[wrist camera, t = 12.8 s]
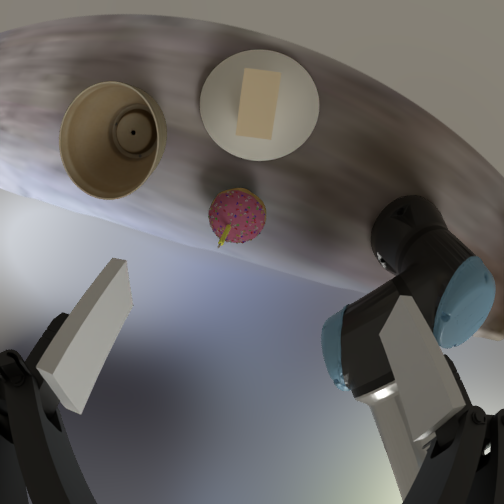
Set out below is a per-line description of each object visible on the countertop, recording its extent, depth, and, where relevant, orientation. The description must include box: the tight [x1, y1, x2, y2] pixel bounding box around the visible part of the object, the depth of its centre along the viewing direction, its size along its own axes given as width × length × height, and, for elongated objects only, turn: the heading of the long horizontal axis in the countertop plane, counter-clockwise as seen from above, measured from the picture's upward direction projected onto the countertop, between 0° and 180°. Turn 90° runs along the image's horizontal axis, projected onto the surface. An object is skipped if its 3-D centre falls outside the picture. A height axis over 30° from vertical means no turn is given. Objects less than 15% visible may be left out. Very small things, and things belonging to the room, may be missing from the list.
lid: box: [200, 49, 319, 161], centre depth 31 cm, size 17×17×10 cm
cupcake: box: [208, 188, 266, 248], centre depth 39 cm, size 9×8×12 cm
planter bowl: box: [59, 81, 167, 200], centre depth 34 cm, size 16×16×11 cm
